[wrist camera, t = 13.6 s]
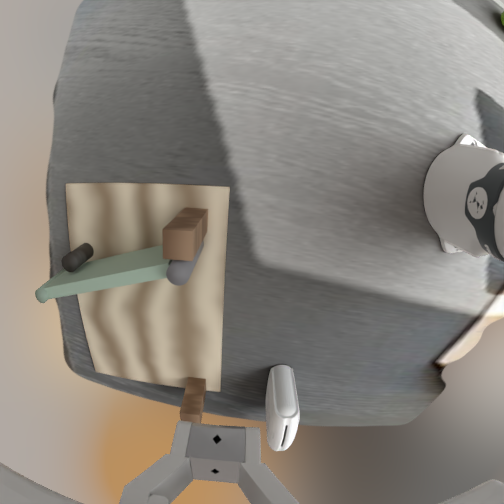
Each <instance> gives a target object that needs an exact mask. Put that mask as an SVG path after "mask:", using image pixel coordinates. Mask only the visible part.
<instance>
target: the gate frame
mask: <svg viewBox="0 0 504 504" xmlns="http://www.w3.org/2000/svg"><path fill="white" fill-rule="evenodd" d="M229 192H230V187H223V186H206V185H186V184H159V183H67V184H66V203H67V218H68V230H69V240H70V249H71V252H70V253H69V254H67V255H66V256H64V257H63V259H62V265H63V267H64V269H65V270H66V271H67V272H74V271H75V270H76V269H77V268H79V267H80V266H81V265H82V264H83V263H86V262H90V261H94V260H98V259H103V258H107V257H111V256H115V255H120V254H124V253H129V252H133V251H137V250H142V249H146V248H151V247H155V246H160V245H163V259H172V260H184V261H193V259H194V257H195V255H196V253H197V251H198V249H199V247H200V245H201V243H202V241H204V247H203V250H202V252H201V254H200V256H199V258H198V260H197V263H196V265H195V267H194V269H193V271H192V273H191V276H190V278H189V280H188V282H187V283H186V284H184V285H181V286H177V285H174V284H172V283H171V282H170V281H169V280H168V279H167V278H164V279H158V280H153V281H147V282H142V283H136V284H131V285H125V286H120V287H114V288H109V289H103V290H98V291H92V292H86V293H81V294H77V295H78V301H79V306H80V311H81V315H82V320H83V324H84V329H85V333H86V337H87V341H88V345H89V349H90V353H91V356H92V360H93V363H94V367H95V370H96V372H99V373H104V374H108V375H113V376H117V377H122V378H127V379H132V380H137V381H143V382H148V383H154V384H161V385H167V386H174V387H181V388H186V389H185V393H184V397H183V401H182V406H181V410H180V418H181V421H187V422H193V423H201V418H202V412H203V406H204V400H205V394H206V391H217V392H220V391H221V357H222V327H223V302H224V280H225V260H226V241H227V224H228V207H229Z"/></svg>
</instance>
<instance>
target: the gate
mask: <svg viewBox="0 0 504 504" xmlns="http://www.w3.org/2000/svg"><path fill="white" fill-rule="evenodd" d="M203 247H204V241H202V243H201V245H200V247H199V249H198V251H197V253H196V255H195V257H194V259H193V261H184V260H172V259H163V245H160V246H155V247H151V248H146V249H142V250H137V251H133V252H129V253H124V254H120V255H115V256H111V257H107V258H103V259H98V260H94V261H90V262H86V263H83V264H82V265H81V266H80V267H79V268H77V269H76V270H75V271H74V272H67V271H66V270H65V269H63V270H61V271H60V272H59V273H57V274H56V275H55V276H54V277H52V278H51V279H50V280H49V281H47V282H46V283H45V284H44V285H42V286H41V287H40V288H39V289H38V290H36V292H35V295H36V298H37V300H38V301H39V302H41V303H45V302H46V301H47V300H48V299H52V298H58V297H64V296H69V295H75V294H81V293H86V292H92V291H98V290H103V289H109V288H114V287H120V286H125V285H131V284H136V283H142V282H147V281H153V280H158V279H164V278H167V279H168V280H169V281H170V282H171V283H172V284H174V285H177V286H181V285H184V284H186V283H187V282H188V280H189V278H190V276H191V273H192V271H193V269H194V267H195V265H196V263H197V260H198V258H199V256H200V254H201V252H202V250H203Z"/></svg>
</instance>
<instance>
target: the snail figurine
mask: <svg viewBox="0 0 504 504" xmlns="http://www.w3.org/2000/svg"><path fill="white" fill-rule="evenodd" d="M501 22H502V25H503V27H504V12H503V13H502V14H501Z"/></svg>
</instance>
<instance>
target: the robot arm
mask: <svg viewBox="0 0 504 504" xmlns="http://www.w3.org/2000/svg"><path fill="white" fill-rule="evenodd" d="M471 144H472V145H471ZM423 197H424V207H425V212H426V215H427V218H428V220H429V222H430V224H431V226H432V227H433V229H434V230H435V231H436V232H437V234H438V235H439V237H440V241H441V245H442V248H443V250H444V251H445V252H447V253H449V254H452V253H458V252H466V253H468V254H470V255H472V256H474V257H477V258H479V257H480V256H485V255H488V254H491V256H493V257H494V258H496V259H498V260H501V261H503V262H504V153H502V152H498V151H497V150H495V149H490V148H487V147H486V146H484V145H483V144H482V143H480V142H479V141H477V140H476V139H475V138H473V137H472V136H470V135H468V134H462V135H461V136H460V137H459V138H458V140H457V141H456V143H455V144H454V145H453V146H452V147H450V148H448V149H446V150H445V151H443V152H442V153H440V154H439V155H438V156H437V157H436V159H435V160H434V161H433V163H432V164H431V166H430V168H429V171H428V173H427V176H426V180H425V184H424V196H423ZM193 479H197V480H208V481H219V482H229V483H238V485H239V487H240V488H241V490H242V491H243V493H244V494H245V496H246V497H247V498H248V500H249V502H250V503H251V504H300V503H299V502H298V501H297V500H296V499H295V498H294V497H293V496H292V495H291V493H289V491H288V490H287V489H286V488H285V487H284V486H283V484H282V483H281V482H280V481H279V480H278V479H277V477H275V475H274V474H273V473H272V471H271V470H270V469H269V468H268V467H267V466H266V464H265V463H261V450H260V429H259V428H253V427H246V428H245V427H237V426H221V425H219V426H217V425H209V424H201V423H193V422H187V421H178V423H177V426H176V430H175V434H174V439H173V443H172V447H171V452H170V454H165V455H164V456H163V457H162V458H160V459H159V460H158V461H157V462H155V463H154V464H153V465H152V466H151V467H149V468H148V469H147V470H145V471H144V472H143V473H141V474H140V475H139V476H138V477H136V478H135V479H134V480H132V481H131V482H130V483H128V484H127V485H126V486H125V487H124V489H123V493H122V496H121V499H120V503H119V504H170V503H171V502H172V501H173V500H174V499H175V498H176V497H177V496H178V495H179V494H180V493H181V492H182V491H183V490H184V489H185V488H186V487H187V486H188V485H189V484H190V483H191V482H192V481H193ZM0 504H83V503H80V502H78V501H75V500H73V499H70V498H68V497H65V496H63V495H61V494H58V493H56V492H54V491H52V490H50V489H48V488H46V487H44V486H42V485H40V484H37V483H36V482H34V481H32V480H30V479H28V478H26V477H24V476H23V475H20V474H19V473H17V472H15V471H13V470H12V469H10V468H9V467H7V466H5V465H4V464H2V463H0ZM438 504H504V483H502V482H500V481H497V480H494V479H493V480H489V481H487V482H485V483H483V484H481V485H479V486H477V487H474V488H472V489H470V490H468V491H466V492H464V493H462V494H459V495H457V496H455V497H453V498H450V499H448V500H445V501H443V502H440V503H438Z"/></svg>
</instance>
